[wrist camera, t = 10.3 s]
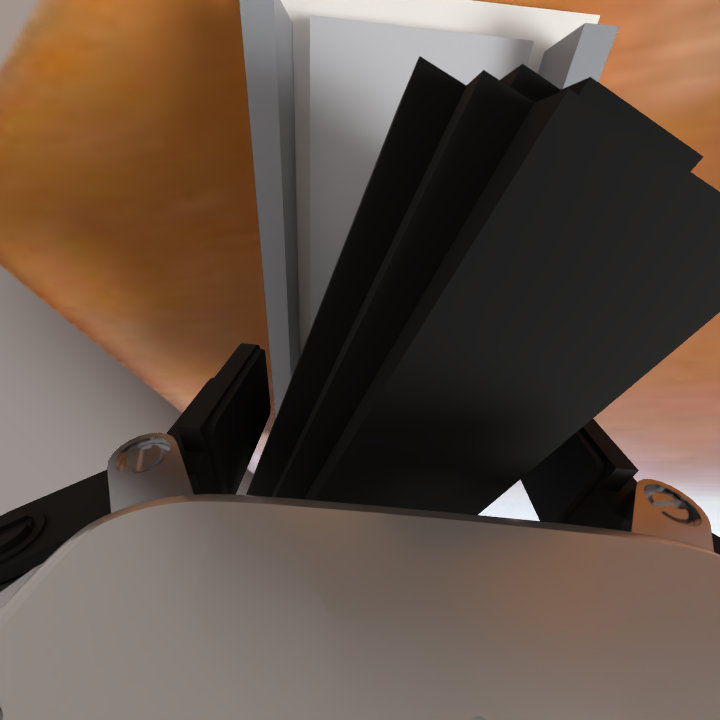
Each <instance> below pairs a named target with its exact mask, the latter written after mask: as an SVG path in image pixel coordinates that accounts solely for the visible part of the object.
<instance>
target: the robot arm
mask: <svg viewBox="0 0 720 720" xmlns="http://www.w3.org/2000/svg"><path fill="white" fill-rule="evenodd" d="M270 410H271V406H270V396H269V386H268V376H267V366H266V355H265V351H264V350H263V349H260V347H259V345H254V344H243V343H242V344H240V345H239V347H238V348H237V349H236V351H235V352H234V353H233V354H232V356H231V357H230V358H229V360H228V361H227V362H226V363H225V365H224V366H223V367H222V369H221V370H220V371H219V372H218V374H217V375H216V376H215V378H211V379H210V380H209V381H208V382H207V383H206V384H205V386H204V387H203V388H202V389H201V391H200V392H199V393H198V394H197V396H196V397H195V398H194V400H193V401H192V402H191V403H190V405H189V406H188V407H187V408H186V410H185V411H184V412H183V413H182V415H181V416H180V417H179V419H178V420H177V421H176V422H175V424H174V425H173V426H172V427H171V429H170V430H169V431H168V432H167V434H164V433H149V434H145V435H141V436H138V437H136V438H134V439H131V440H129V441H128V442H126V443H125V444H123V445H121V446H120V447H119V448H118V449H117V450H116V451H115V452H114V453H113V454H112V456H111V457H110V459H109V461H108V467H107V470H106V471H103V472H100V473H98V474H96V475H93V476H91V477H89V478H87V479H84V480H82V481H79V482H77V483H75V484H73V485H70V486H68V487H65V488H63V489H61V490H58V491H56V492H54V493H51V494H49V495H47V496H44V497H42V498H40V499H37V500H35V501H33V502H30V503H28V504H26V505H23V506H21V507H19V508H16V509H14V510H12V511H9V512H7V513H6V514H4V515H2V516H0V720H720V537H718V536H717V535H715V534H713V533H711V525H710V522H709V519H708V517H707V516H706V514H705V513H704V512H703V510H702V509H701V508H700V507H699V506H698V505H697V504H696V503H695V502H694V501H693V500H692V499H690V498H689V497H688V496H686V495H685V494H684V493H682V492H680V491H679V490H677V489H675V488H673V487H672V486H670V485H667V484H665V483H663V482H660V481H656V480H652V479H643V480H641V481H638V483H637V481H636V480H635V479H634V478H633V476H634V475H635V474H636V473H637V472H638V471H639V470H638V469H637V468H636V467H635V466H634V465H633V463H632V462H631V461H630V460H629V459H628V458H627V457H626V455H625V454H624V453H623V452H622V451H621V450H620V449H619V448H618V446H617V445H616V444H615V443H614V442H613V441H612V440H611V438H610V437H609V436H608V435H607V434H606V433H605V432H604V430H603V429H602V428H601V427H600V426H599V425H598V424H597V422H596V421H595V420H594V419H591V420H590V421H589V422H588V423H587V424H586V425H584V426H583V427H582V428H581V429H580V430H578V431H577V432H576V433H575V434H574V435H572V436H571V437H570V438H569V439H568V440H566V441H565V442H564V443H563V444H562V445H560V446H559V447H558V448H557V449H556V450H554V451H553V452H552V453H551V454H550V455H549V456H547V457H546V458H545V459H544V460H543V461H541V462H540V463H539V464H538V465H537V466H535V467H534V468H533V469H532V470H531V471H529V472H528V473H527V474H526V475H525V476H523V477H522V478H521V481H522V484H523V486H524V488H525V490H526V492H527V494H528V496H529V498H530V501H531V503H532V505H533V507H534V509H535V511H536V513H537V515H538V518H539V520H540V521H531V520H521V519H510V518H500V517H490V516H480V515H469V514H459V513H448V512H437V511H426V510H416V509H405V508H394V507H383V506H372V505H360V504H349V503H338V502H326V501H315V500H303V499H292V498H278V497H263V496H249V495H236V492H237V490H238V488H239V485H240V483H241V481H242V478H243V476H244V474H245V471H246V469H247V467H248V465H249V462H250V460H251V458H252V455H253V453H254V451H255V448H256V446H257V444H258V441H259V439H260V437H261V434H262V432H263V430H264V427H265V425H266V423H267V420H268V418H269V415H270Z"/></svg>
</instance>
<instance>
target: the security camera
mask: <svg viewBox="0 0 720 720" xmlns="http://www.w3.org/2000/svg"><path fill="white" fill-rule="evenodd" d="M702 158H703V156H702V155H700V154H699V153H697V152H696V151H694V150H693V149H692V148H690V147H689V146H687V145H686V144H685V143H683V142H682V141H680V140H679V139H678V138H676V137H675V136H673V135H672V134H671V133H669V132H668V131H666V130H665V129H663V128H662V127H661V126H659V125H658V124H656V123H655V122H654V121H652V120H651V119H649V118H648V117H647V116H645V115H644V114H642V113H641V112H639V111H638V110H637V109H635V108H634V107H632V106H631V105H630V104H628V103H627V102H625V101H624V100H623V99H621V98H620V97H618V96H617V95H616V94H614V93H613V92H611V91H610V90H608V89H607V88H606V87H604V86H603V85H601V84H600V83H599V82H597V81H596V80H594V79H593V78H592V77H589V78H587V79H584V80H582V81H580V82H577V83H575V84H573V85H570V86H568V87H566V88H563V89H559V88H558V87H556V86H555V85H553V84H552V83H550V82H549V81H547V80H546V79H544V78H543V77H541V76H540V75H539V74H537V73H536V72H534V71H533V70H531V69H530V68H528V67H527V66H525V65H524V64H521V65H520V66H519V67H517V68H516V69H514V70H513V71H512V72H510V73H509V74H507V75H506V76H505V77H503V78H502V79H500V80H499V79H497V78H496V77H494V76H492V75H491V74H489V73H488V72H486V71H485V70H483V71H482V72H481V73H480V74H479V75H477V76H476V77H475V78H474V79H473V80H472V81H471V82H470V83H469V84H467V85H465V84H463V83H462V82H460V81H459V80H457V79H455V78H454V77H452V76H451V75H449V74H448V73H446V72H444V71H443V70H441V69H440V68H438V67H437V66H435V65H433V64H432V63H430V62H429V61H427V60H425V59H424V58H422V57H421V56H419V58H418V61H417V63H416V65H415V68H414V70H413V72H412V75H411V77H410V79H409V82H408V84H407V86H406V89H405V91H404V93H403V96H402V98H401V100H400V103H399V105H398V108H397V110H396V113H395V115H394V118H393V120H392V123H391V125H390V128H389V131H388V133H387V136H386V138H385V141H384V143H383V146H382V148H381V151H380V154H379V156H378V159H377V161H376V164H375V166H374V169H373V171H372V174H371V176H370V179H369V182H368V184H367V187H366V189H365V192H364V194H363V197H362V199H361V202H360V205H359V207H358V210H357V212H356V215H355V217H354V220H353V222H352V225H351V228H350V230H349V233H348V235H347V238H346V240H345V243H344V245H343V248H342V251H341V253H340V256H339V258H338V261H337V263H336V266H335V268H334V271H333V273H332V276H331V279H330V281H329V284H328V286H327V289H326V291H325V294H324V296H323V299H322V302H321V304H320V307H319V309H318V312H317V314H316V317H315V319H314V322H313V325H312V327H311V330H310V332H309V335H308V337H307V340H306V342H305V345H304V348H303V350H302V353H301V355H300V358H299V360H298V363H297V365H296V368H295V371H294V373H293V376H292V378H291V381H290V383H289V386H288V388H287V391H286V393H285V396H284V399H283V401H282V404H281V406H280V409H279V411H278V414H277V416H276V419H275V422H274V424H273V427H272V429H271V432H270V434H269V437H268V439H267V442H266V445H265V447H264V450H263V452H262V455H261V457H260V460H259V462H258V465H257V468H256V470H255V473H254V475H253V478H252V481H251V484H250V486H249V489H248V491H247V494H246V495H249V496H263V497H278V498H292V499H303V500H315V501H326V502H338V503H349V504H360V505H372V506H383V507H394V508H405V509H416V510H426V511H437V512H448V513H459V514H469V515H478V514H479V513H481V512H482V511H483V510H484V509H485V508H487V507H488V506H489V505H490V504H491V503H492V502H494V501H495V500H496V499H497V498H498V497H500V496H501V495H502V494H503V493H504V492H506V491H507V490H508V489H509V488H510V487H512V486H513V485H514V484H515V483H516V482H518V481H519V480H520V479H521V478H522V477H523V476H525V475H526V474H527V473H528V472H529V471H531V470H532V469H533V468H534V467H535V466H537V465H538V464H539V463H540V462H541V461H543V460H544V459H545V458H546V457H547V456H549V455H550V454H551V453H552V452H553V451H554V450H556V449H557V448H558V447H559V446H560V445H562V444H563V443H564V442H565V441H566V440H568V439H569V438H570V437H571V436H572V435H574V434H575V433H576V432H577V431H578V430H580V429H581V428H582V427H583V426H584V425H586V424H587V423H588V422H589V421H590V420H591V419H593V418H594V417H595V416H596V415H597V414H599V413H600V412H601V411H602V410H603V409H605V408H606V407H607V406H608V405H609V404H611V403H612V402H613V401H614V400H615V399H617V398H618V397H619V396H620V395H621V394H622V393H624V392H625V391H626V390H627V389H628V388H630V387H631V386H632V385H633V384H634V383H636V382H637V381H638V380H639V379H640V378H642V377H643V376H644V375H645V374H646V373H648V372H649V371H650V370H651V369H652V368H653V367H655V366H656V365H657V364H658V363H659V362H661V361H662V360H663V359H664V358H665V357H667V356H668V355H669V354H670V353H671V352H673V351H674V350H675V349H676V348H677V347H679V346H680V345H681V344H682V343H683V342H685V341H686V340H687V339H688V338H689V337H690V336H692V335H693V334H694V333H695V332H696V331H698V330H699V329H700V328H701V327H702V326H704V325H705V324H706V323H707V322H708V321H710V320H711V319H712V318H713V317H714V316H716V315H717V314H718V313H719V312H720V192H719V191H717V190H716V189H715V188H713V187H712V186H710V185H709V184H707V183H706V182H704V181H703V180H701V179H700V178H699V177H697V176H696V175H694V174H693V173H691V172H690V171H691V170H692V169H693V168H694V167H695V166H696V165H697V163H698V162H699V161H700V160H701V159H702Z"/></svg>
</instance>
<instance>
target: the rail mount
mask: <svg viewBox="0 0 720 720" xmlns="http://www.w3.org/2000/svg"><path fill="white" fill-rule="evenodd" d="M239 2H240V14H241V25H242V37H243V48H244V60H245V71H246V83H247V95H248V106H249V118H250V129H251V141H252V152H253V164H254V176H255V187H256V199H257V210H258V222H259V233H260V245H261V257H262V268H263V280H264V291H265V303H266V314H267V326H268V338H269V349H270V361H271V372H272V384H273V395H274V407H275V419H276V416H277V414H278V411H279V409H280V406H281V404H282V401H283V399H284V396H285V393H286V391H287V388H288V386H289V383H290V381H291V378H292V376H293V373H294V371H295V368H296V365H297V363H298V360H299V358H300V355H301V353H302V350H303V348H304V345H305V342H306V340H307V337H308V335H309V332H310V330H311V327H312V325H313V322H314V319H315V317H316V314H317V312H318V309H319V307H320V304H321V302H322V299H323V296H324V294H325V291H326V289H327V286H328V284H329V281H330V279H331V276H332V273H333V271H334V268H335V266H336V263H337V261H338V258H339V256H340V253H341V251H342V248H343V245H344V243H345V240H346V238H347V235H348V233H349V230H350V228H351V225H352V222H353V220H354V217H355V215H356V212H357V210H358V207H359V205H360V202H361V199H362V197H363V194H364V192H365V189H366V187H367V184H368V182H369V179H370V176H371V174H372V171H373V169H374V166H375V164H376V161H377V159H378V156H379V154H380V151H381V148H382V146H383V143H384V141H385V138H386V136H387V133H388V131H389V128H390V125H391V123H392V120H393V118H394V115H395V113H396V110H397V108H398V105H399V103H400V100H401V98H402V96H403V93H404V91H405V89H406V86H407V84H408V82H409V79H410V77H411V75H412V72H413V70H414V68H415V65H416V63H417V61H418V58H419V56H421V57H422V58H424V59H425V60H427V61H429V62H430V63H432V64H433V65H435V66H437V67H438V68H440V69H441V70H443V71H444V72H446V73H448V74H449V75H451V76H452V77H454V78H455V79H457V80H459V81H460V82H462V83H463V84H465V85H467V84H469V83H470V82H471V81H472V80H473V79H474V78H475V77H476V76H477V75H479V74H480V73H481V72H482V71H483V70H485V71H486V72H488V73H489V74H491V75H492V76H494V77H496V78H497V79H499V80H500V79H502V78H503V77H505V76H506V75H507V74H509V73H510V72H512V71H513V70H514V69H516V68H517V67H519V66H520V65H521V64H524V65H525V66H527V67H528V68H530V69H531V70H533V71H534V72H536V73H537V74H539V75H540V76H541V77H543V78H544V79H546V80H547V81H549V82H550V83H552V84H553V85H555V86H556V87H558V88H559V89H563V88H566V87H568V86H570V85H573V84H575V83H577V82H580V81H582V80H584V79H587V78H589V77H592V78H593V79H594V80H596V81H597V82H598V81H599V78H600V75H601V73H602V70H603V68H604V65H605V62H606V60H607V57H608V55H609V52H610V49H611V47H612V44H613V42H614V39H615V37H616V34H617V31H618V29H619V27H618V26H609V25H601V24H597V23H598V20H599V18H600V15H592V14H584V13H575V12H567V11H558V10H549V9H541V8H532V7H524V6H515V5H507V4H498V3H490V2H481V1H473V0H239Z"/></svg>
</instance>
